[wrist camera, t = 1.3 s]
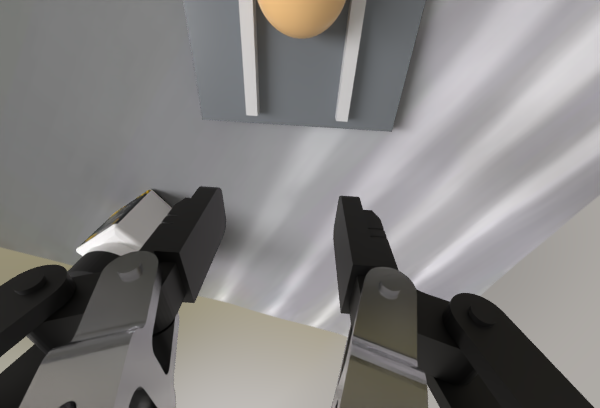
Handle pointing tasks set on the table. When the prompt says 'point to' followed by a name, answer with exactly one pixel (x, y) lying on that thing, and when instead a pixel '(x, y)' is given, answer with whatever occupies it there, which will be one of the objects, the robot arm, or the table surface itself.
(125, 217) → the medicine bottle
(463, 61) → the table surface
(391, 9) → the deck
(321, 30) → the ball
